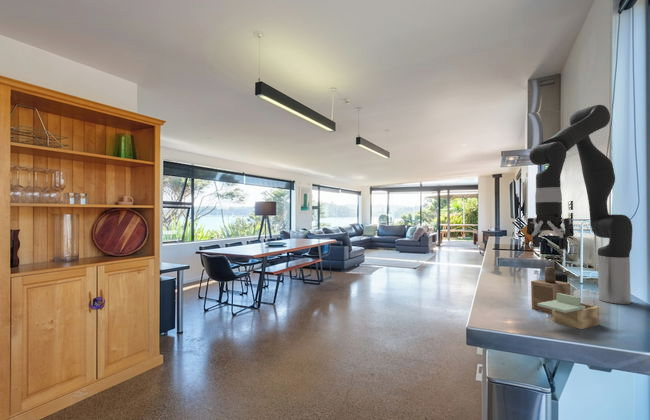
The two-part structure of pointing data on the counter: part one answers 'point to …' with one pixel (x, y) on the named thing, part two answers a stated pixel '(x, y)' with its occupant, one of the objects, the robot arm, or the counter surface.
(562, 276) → the medicine bottle
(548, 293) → the cover
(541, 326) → the counter surface
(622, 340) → the counter surface
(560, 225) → the robot arm
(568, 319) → the oak box
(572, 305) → the lid
